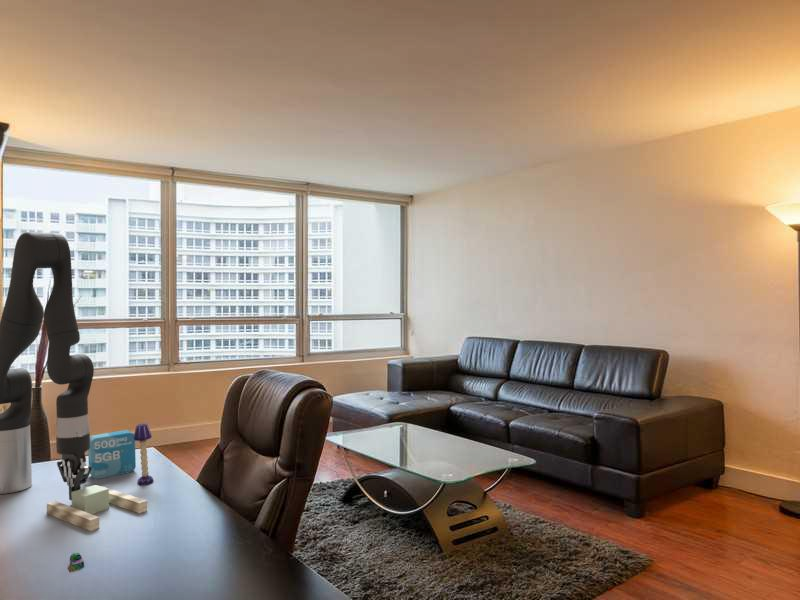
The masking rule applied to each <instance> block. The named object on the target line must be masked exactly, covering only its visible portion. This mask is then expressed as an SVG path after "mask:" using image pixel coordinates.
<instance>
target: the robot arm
mask: <svg viewBox="0 0 800 600" xmlns="http://www.w3.org/2000/svg"><path fill="white" fill-rule="evenodd" d="M13 251H14V252H13V258H12V259H13V260H12V266H11V267H12V268H11V275H10V281H9V286H8V290H7V294H6V299H5V303H4V307H3V310H2V314H1V317H0V405H4V404H9V407H7V409H5V410H4V411H3V412H1V413H0V495H2V494H3V495H4V494H12V493H16V492H20V491H24V490H26V489H29V488H30V487H31V486H32V485H33V483H32V482H33V480H32V476H33V475H32V474H33V473H32V468H33V467H32V440H31V439H32V437H31V417H32V403H33V402H32V399H33V380H32V377H31V374H30V372H29V371H28V369H26V368H12V369H10V368H11V366H12V365H13V363H14V362H15V360H16V359H18V358H19V357H20V355H22V353H24V352H25V351H26V350H27V349H28V348H29V347H30V346H31V345H32V344H33V343H35V341H36V339H37V338H38V336H39V335H40V331H41V327H42V324H43V321H44V327H45V331H46V336H47V339H48V347H47V359H46V371H47V375H48V377H49V379H50V380H51V382H53V383H54V384H57V385H59V386H61V385H67V384H68V386H67V389H66V390H65V391H64V392H61V393H60V394H59V395H58V396H56V402H55V403H56V406H55V407H56V422H55V423H56V424H55V440H56V443H55V444H56V445H55V446H56V447H55V448H56V453H57V454H58V455H62V456H61V460H59V461H57V462H56V465H57V468H58V470H59V472H60V475H61V479H62V482H63V483H66V485H67V486H68V500H69V501H71V502H72V493H71V492H73V491H77V490H80V489H82V488H81V485H84V484H86V483H87V480H88V479H89V477H90V475H91V474H90V472H91V470H92V467H91V466H89V465H87V463H86V462H87V457H86V455H85V454H86V453H87V452H88V450H89V449H90V437H91V432H90V431H91V430H90V429H91V428H90V419H89V418H90V417H89V403H88V402H89V401H88V400H89V399H88V397H89V394H90V390H91V388H92V382H93V378H94V374H95V371H94V370H95V369H94V368H95V367H94V364H93V361H92V359H91V358H90V356H88V355H87V354H83V353H79V354H77V353H76V354H70V352H71V347H72V346H75V345H76V344H78V343H79V342H80V340H81V337H80V332H79V326H78V321H77V317H76V312H75V308H74V307H75V306H74V298H73V297H74V295H73V273H72V271H73V270H72V257H71V255H72V254H71V248H70V245H69V242H68V239H67V238H66V237H65V236H64V235H63V234H61V233H58V232H39V231H37V232H36V231H30V232H29V231H27V232H23V233H21V234H20V235H19V237H18V238H17V240H16V242H15V247H14V250H13ZM37 269H51V273H52V277H53V285H52V290H51V293H50V295H49V297H48V300H47V303H46V305H45V308H43V307H44V306H43V304H42V302H41V301H40V299H39V296H38V294H37V293H36V290H35V287H34V277H35V274H36V271H37Z"/></svg>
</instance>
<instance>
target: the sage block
mask: <svg viewBox="0 0 800 600" xmlns="http://www.w3.org/2000/svg"><path fill="white" fill-rule="evenodd" d="M104 487H105V486H101V485H97V484H94V485H90V486H86V487H84V488H81V489H80V490H77V491H73V492H71V493H72V501H71V507H73V508H76V509H79V510H81V511H84V512H87V513H89V514H92V515H94V514H96V513H99V512H102V511H105V510H107V509H110V503H109V489H110V488H109V489H107V488H108V487H106V488H104Z"/></svg>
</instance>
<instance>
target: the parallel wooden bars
mask: <svg viewBox="0 0 800 600" xmlns="http://www.w3.org/2000/svg"><path fill="white" fill-rule="evenodd" d="M103 487H104V488H107V489H109V504H112V505H115V506H116V507H117V506H118V507H119V508H122V509H125V510H129V511H131V512H135V513H137V514H141V513H144V512H147V511H148V500H147V499H142V498H141V497H137V496H133V495H130V494H128V493H124V492H121V491H118V490H115V489H111V488H108V487H105V486H103ZM46 514H47V515H49V516H52V517H55V518H57V519H59V520H63V521H65V522H67V523H70V524H72V525H74V526H77V527H80V528H83V529H85V530H88V531H90V532H92V531H95V530H97V529H100V517H99V516H97V515H95V514H89V513H87V512H84V511H81V510H79V509H76V508H73V507H72V505H71V506H70V505H68V504H65V503H62V502H59V501H57V500H53V501H50V502H47V503H46Z"/></svg>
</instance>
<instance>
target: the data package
mask: <svg viewBox="0 0 800 600" xmlns="http://www.w3.org/2000/svg"><path fill="white" fill-rule="evenodd" d="M134 434H135V433H132V432H131V430H125V429H124V430H119V431H118V430H117V431H113V432H106V433H99V434H93V435H90V449H89V450H87V453H88V456H87V457H88V466H91V467H92V470H91V472H90V474H89V475H90V476H91V477H92V478H93V479H96V480H97V479H98V478H99V479H103V477H104V478H108V476H109V477H113V475H114V476H117V474H119V475H123V474H122V473H124V474H128V473H127V472H129V473H132V472H133V471H134V470H136V467H137V466H136V460H137V459H136V441H135V440H134ZM131 471H132V472H131ZM99 479H98V480H99Z"/></svg>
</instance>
